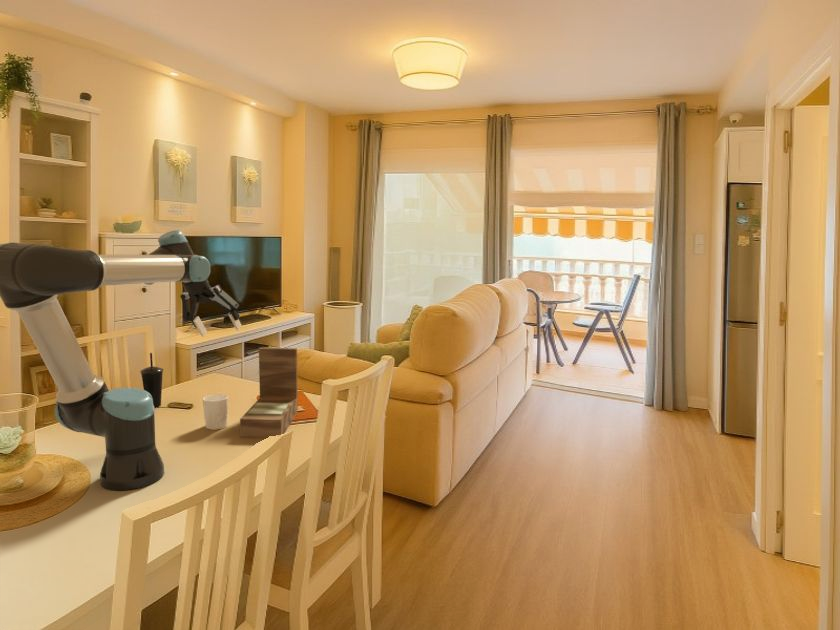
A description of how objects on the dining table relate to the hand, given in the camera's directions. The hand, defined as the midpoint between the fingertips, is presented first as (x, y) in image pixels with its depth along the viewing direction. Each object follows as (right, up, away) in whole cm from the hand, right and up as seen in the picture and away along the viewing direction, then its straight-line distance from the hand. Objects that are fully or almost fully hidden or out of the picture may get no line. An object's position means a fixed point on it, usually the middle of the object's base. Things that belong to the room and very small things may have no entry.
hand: (221, 331), depth 188 cm
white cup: (-1, -32, -2) cm, 32 cm away
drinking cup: (-31, -28, +17) cm, 45 cm away
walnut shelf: (+16, -32, +1) cm, 36 cm away
